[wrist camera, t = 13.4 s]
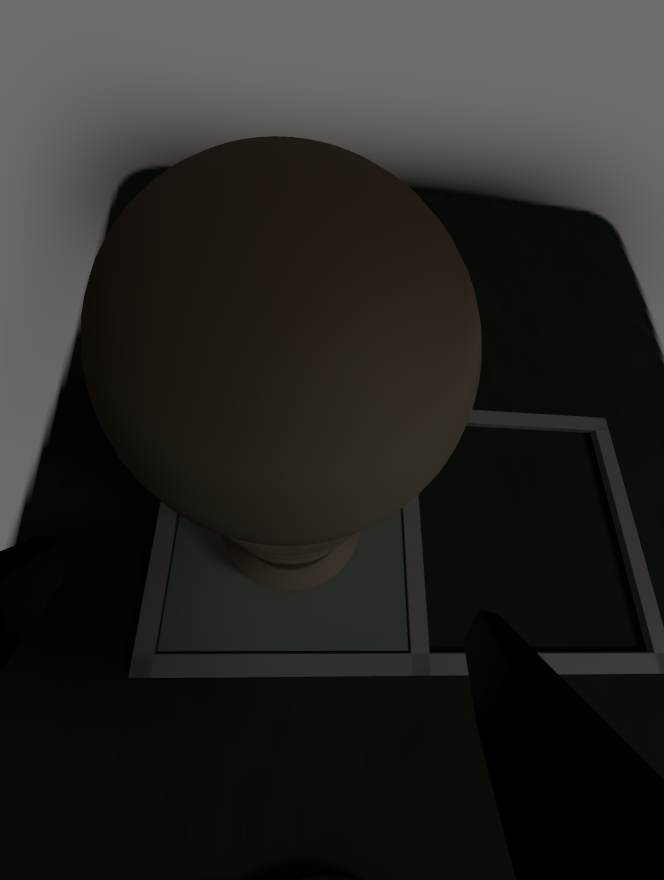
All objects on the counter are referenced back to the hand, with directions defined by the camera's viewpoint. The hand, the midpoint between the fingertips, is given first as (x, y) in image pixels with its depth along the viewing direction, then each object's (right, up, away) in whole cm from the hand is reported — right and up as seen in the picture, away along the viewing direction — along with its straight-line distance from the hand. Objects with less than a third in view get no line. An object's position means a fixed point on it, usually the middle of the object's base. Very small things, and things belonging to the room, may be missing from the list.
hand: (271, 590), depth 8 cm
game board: (+5, -1, +10) cm, 11 cm away
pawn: (-1, -1, +9) cm, 9 cm away
